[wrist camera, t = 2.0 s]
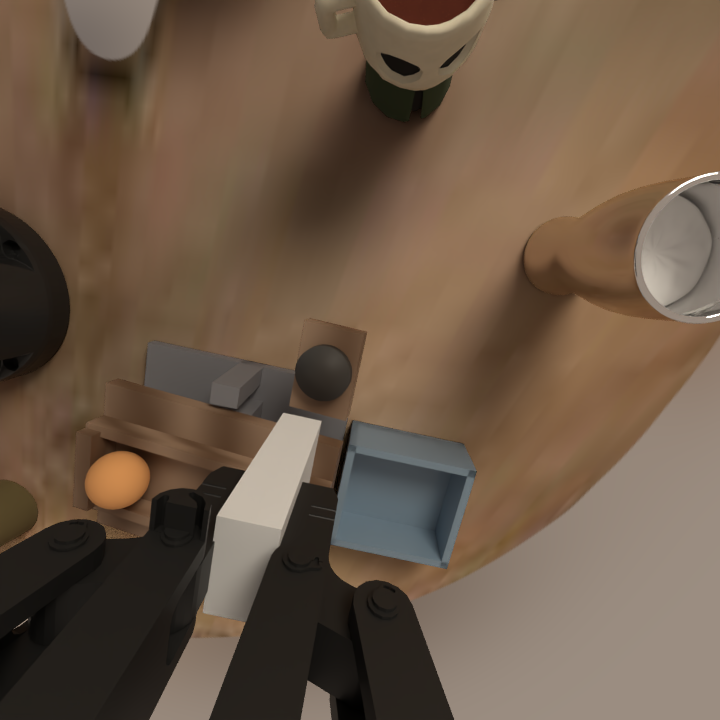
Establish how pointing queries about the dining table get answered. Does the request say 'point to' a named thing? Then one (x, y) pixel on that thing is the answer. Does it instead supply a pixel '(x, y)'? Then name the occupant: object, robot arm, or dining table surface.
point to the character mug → (408, 46)
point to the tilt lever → (214, 426)
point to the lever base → (229, 384)
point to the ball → (117, 480)
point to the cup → (402, 494)
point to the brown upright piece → (15, 511)
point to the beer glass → (638, 252)
